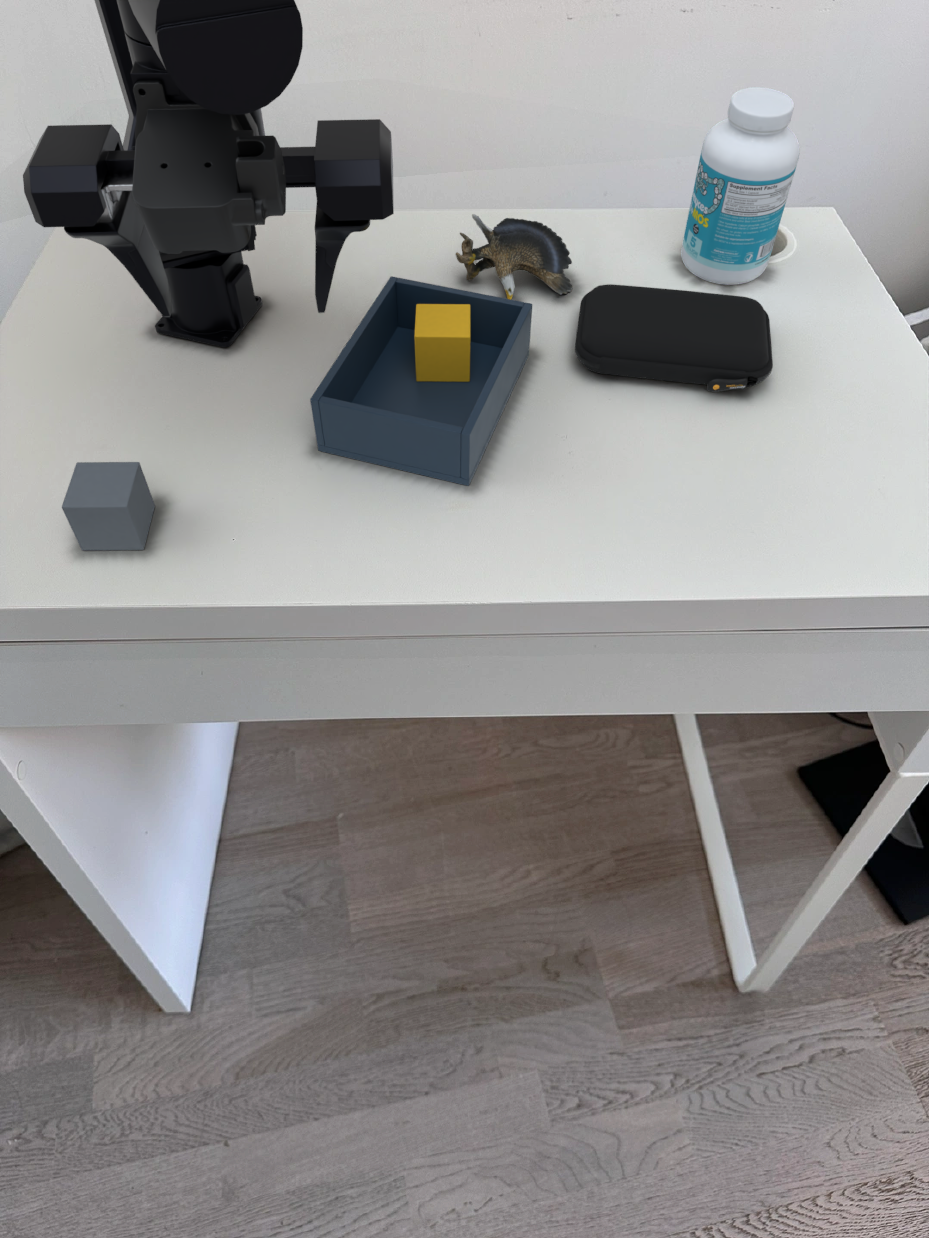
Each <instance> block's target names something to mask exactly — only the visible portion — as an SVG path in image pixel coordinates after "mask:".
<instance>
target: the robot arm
mask: <svg viewBox="0 0 929 1238" xmlns="http://www.w3.org/2000/svg"><path fill="white" fill-rule="evenodd" d="M94 3H95V7H96V11H97V14H98V17H99V21H100V23H101V26H102V30H103V34H104V37H105V40H106V43H107V47H108V50H109V54H110V57H111V60H112V61H111V62H112V63H113V67H114V70H115V73H116V78H117V80H118V84H119V86H120V87H119V88H120V90H121V93H122V97H123V101H124V103H125V107H126V111H127V114H128V118H127V122H126V123H127V124H126V129H125V132H124V139H123V141H122V139H121V135H120V133H119V132H118V130H117V129H116V128H115V127H114V126H113V124H111V123H109V124H64V125H63V124H62V125H56V124H55V125H47V126H46V127H45V129H44V131H43V133H42V134H41V136H40V138H39V140H38V142H37V144H36V146H35V148H34V151H33V153H32V155H31V156H30V159H29V160H28V163H27V165H26V167H25V170H24V171H23V174H22V181H23V192H24V196H25V199H26V201H27V203H28V206H29V209H30V211H31V214H32V216H33V219H34V222H35V223H37V224H38V225H40V226H41V227H43V228H63V230H64V232H65V233H66V235H68V236H69V237H71V238H73V239H85V240H88V241H91V242H94V243H97V244H98V245H101V246H103V247H105V248H106V249H107V250H108V251H109V252H110V253H111V254H112V255H113V256H114V257H115V258H116V259H117V261H119V262H120V264H121V265H122V266H123V267H124V268H125V270H126V271H127V272H128V273H129V274H130V276H131V277H132V278H133V279H134V281H135V282H136V283H137V285H138V286H139V287H140V289H141V290H142V291H143V293H144V294H145V296H146V297H147V298H148V299H149V300H150V302H151V303H152V304H153V305H154V307H155V308H156V310H157V311H158V313H159V314H161V318H159V320H158V321H157V322H156V323H155V324H154V329H155V331H156V333H158V334H161V335H165V336H170V337H174V338H179V339H184V340H188V341H194V342H197V343H201V344H205V345H206V344H207V345H211V346H216V347H220V348H228V347H231V345H232V344H233V343H234V342H235V340H236V339H237V338H238V337H239V335H241V333H242V332H243V330H244V329H245V328H246V326H247V325H248V323H249V322H250V321H251V320H252V319H253V317H254V316H255V315H256V313H257V312H258V311H259V309H260V308H261V307H262V306H263V300H262V297H261V296H259V295H255V290H254V284H253V280H252V274H251V270H250V269H251V268H250V266H249V265H248V264H246V263H244V257H243V253H242V252H251V251H255V250H256V245H255V241H256V240H257V229H256V226H265V225H266V220H267V218H269V217H283V216H284V215H285V214H286V212H287V211H286V210H287V189H293V188H295V189H297V188H314V189H315V197H316V208H315V217H314V218H315V219H314V237H315V238H314V241H315V243H314V244H315V246H314V247H315V248H314V249H315V250H314V251H315V252H314V253H315V254H314V257H315V259H314V261H315V262H314V276H315V277H314V298H315V303H316V309H317V313H319V314H325V312H326V309H327V305H328V300H329V296H330V292H331V287H332V282H333V279H334V273H335V270H336V266H337V262H338V259H339V256H340V254H341V251H342V249H343V247H344V244H345V243H346V240H347V239H348V237H349V236H350V235H351V234H352V233H360V232H365V231H366V230H369V227H370V226H371V221H378V220H379V221H382V220H385V219H386V218H389V217H391V216H393V215H394V209H395V207H394V158H393V140H392V131H391V130H390V129H389V127H388V126H386V124H385V123H384V122H383V120H381V119H380V118H379V119H376V118H375V119H374V118H373V119H372V118H371V119H369V118H368V119H326V120H325V119H323V120H318V119H317V123H316V135H315V143H314V144H315V145H314V146H282V147H281V146H280V144H279V142H278V139H277V138H276V136H274V135H266V131H265V125H264V119H263V112H262V109H263V108H265V107H267V106H268V105H270V104H271V103H272V102H273V101H275V100H276V99H278V98H279V97H280V96H281V95H282V94H283V93H284V91H285V90H286V88H288V86H289V85H290V83H291V82H292V80H293V79H294V76H295V74H296V71H297V70H298V68H299V65H300V60H301V55H302V52H303V44H304V43H303V41H304V40H303V38H304V37H303V36H304V35H303V34H304V29H303V22H302V17H301V12H300V10H299V8H298V5H297V3H296V0H94Z"/></svg>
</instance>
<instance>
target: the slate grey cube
mask: <svg viewBox="0 0 929 1238" xmlns="http://www.w3.org/2000/svg"><path fill="white" fill-rule="evenodd" d="M155 508H156V504H155V502H154V498H153V496H152V493H151V490H150V487H149V485H148V482H147V479H146V476H145V473H144V471H143V468H142V465H141V463H140V461H88V462H87V461H85V462H83V461H80V462H79V461H78V462H76V463H75V466H74V469H73V472H72V474H71V478H70V480H69V483H68V487H67V490H66V492H65V496H64V498H63V501H62V505H61V509H62V512H63V513H64V515H65V518H66V520H67V522H68V524H69V526H70V528H71V530H72V533H73V535H74V537H75V539H76V541H77V543H78V545H79V547H80V549H81V551H144V550H145V548H146V543H147V539H148V535H149V532H150V527H151V523H152V521H153V520H152V519H153V516H154V512H155Z"/></svg>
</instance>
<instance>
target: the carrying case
mask: <svg viewBox="0 0 929 1238" xmlns="http://www.w3.org/2000/svg"><path fill="white" fill-rule="evenodd" d="M575 334H576V335H575V343H574V354H575V356H576V358H577V359H578V361H579V362H580V363H581V364H582V365H583V366H584V367H585V368H586V369H587V370H588V371H591V372H594V373H598V374H600V375H611V376H620V377H628V378H637V379H647V380H656V381H663V382H664V381H665V382H676V383H684V384H685V383H686V384H695V385H705V386H706V389H707V391H708V392H712V393H717V392H723V391H724V392H725V391H731V390H745V389H746V388H750V387H753V386H755V385H757V384H760V383H762V382H763V381H765V380H766V379H767V378H768V377H769V376H770V374H771V373H772V371H773V368H774V361H773V350H772V349H773V348H772V335H771V324H770V317H769V314H768V312H767V311H766V310H765V309H764V307H763V305H762V304H761V303H760V302H759V301H758V300H757V299H754V298H752V297H748V296H741V295H734V294H733V295H732V294H722V293H712V292H703V291H702V292H701V291H694V290H693V291H692V290H682V289H671V288H670V289H669V288H661V287H647V286H637V285H625V284H612V283H611V284H610V283H607V284H600V285H597V286H595V287H594V288H593V289H591V290H590V291H588V292H587V293H585V295H584V296H583V297H582V299H581V300H580V305H579V312H578V319H577V327H576V333H575Z"/></svg>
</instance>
